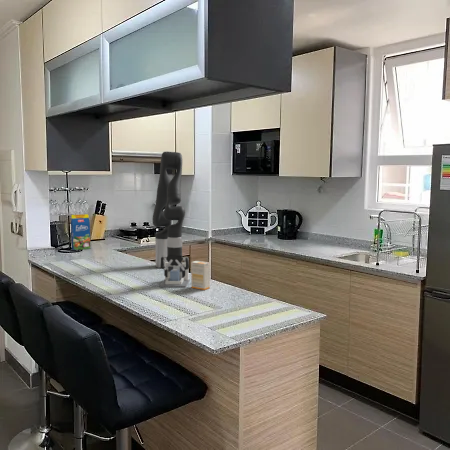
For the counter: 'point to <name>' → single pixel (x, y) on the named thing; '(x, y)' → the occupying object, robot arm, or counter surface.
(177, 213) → the robot arm
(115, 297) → the counter surface
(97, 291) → the counter surface
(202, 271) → the supplement box
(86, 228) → the blue food package
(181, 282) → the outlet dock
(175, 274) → the block
